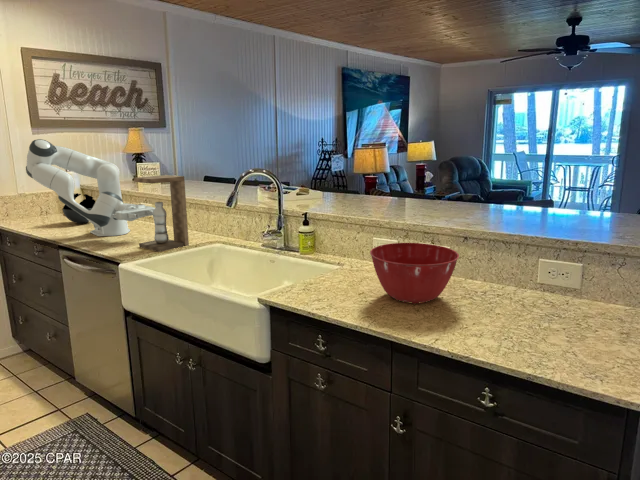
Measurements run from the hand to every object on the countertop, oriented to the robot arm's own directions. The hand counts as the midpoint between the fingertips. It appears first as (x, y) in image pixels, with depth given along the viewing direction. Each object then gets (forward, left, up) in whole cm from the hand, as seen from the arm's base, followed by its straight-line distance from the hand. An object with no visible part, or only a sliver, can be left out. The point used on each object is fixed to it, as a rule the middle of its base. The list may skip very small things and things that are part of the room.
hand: (144, 214), depth 242 cm
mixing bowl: (+145, +5, -15) cm, 146 cm away
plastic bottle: (+13, 0, -13) cm, 18 cm away
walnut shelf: (+12, 0, -15) cm, 19 cm away
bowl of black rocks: (-86, +10, -15) cm, 88 cm away
